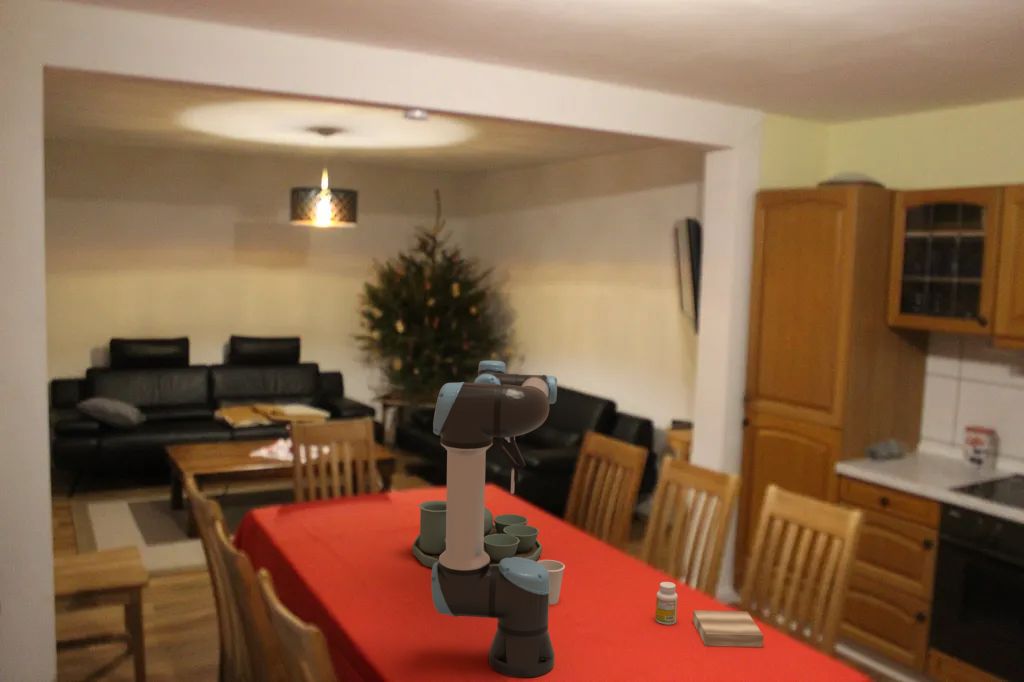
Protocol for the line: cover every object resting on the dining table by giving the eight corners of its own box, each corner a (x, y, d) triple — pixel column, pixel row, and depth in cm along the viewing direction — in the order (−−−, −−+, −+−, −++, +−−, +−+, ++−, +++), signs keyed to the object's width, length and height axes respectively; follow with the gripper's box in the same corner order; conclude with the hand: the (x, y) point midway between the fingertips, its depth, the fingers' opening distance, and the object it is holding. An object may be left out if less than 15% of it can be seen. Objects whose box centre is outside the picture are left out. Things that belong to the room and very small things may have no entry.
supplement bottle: (661, 614, 229) (663, 579, 228) (680, 620, 226) (682, 584, 225) (651, 620, 225) (653, 584, 224) (669, 627, 222) (671, 590, 221)
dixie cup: (537, 608, 231) (539, 571, 230) (528, 595, 239) (530, 560, 238) (567, 605, 233) (569, 569, 232) (557, 593, 241) (559, 558, 240)
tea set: (487, 588, 244) (489, 531, 242) (386, 555, 268) (387, 503, 266) (566, 552, 275) (568, 501, 274) (469, 525, 299) (470, 478, 298)
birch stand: (762, 647, 212) (763, 635, 212) (705, 645, 212) (706, 633, 211) (746, 622, 226) (747, 611, 225) (692, 621, 226) (693, 610, 225)
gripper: (536, 416, 245) (533, 489, 247) (448, 411, 247) (446, 485, 249) (534, 420, 237) (531, 497, 239) (444, 416, 239) (442, 492, 241)
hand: (488, 491), depth 244 cm, fingers open, 13 cm apart
